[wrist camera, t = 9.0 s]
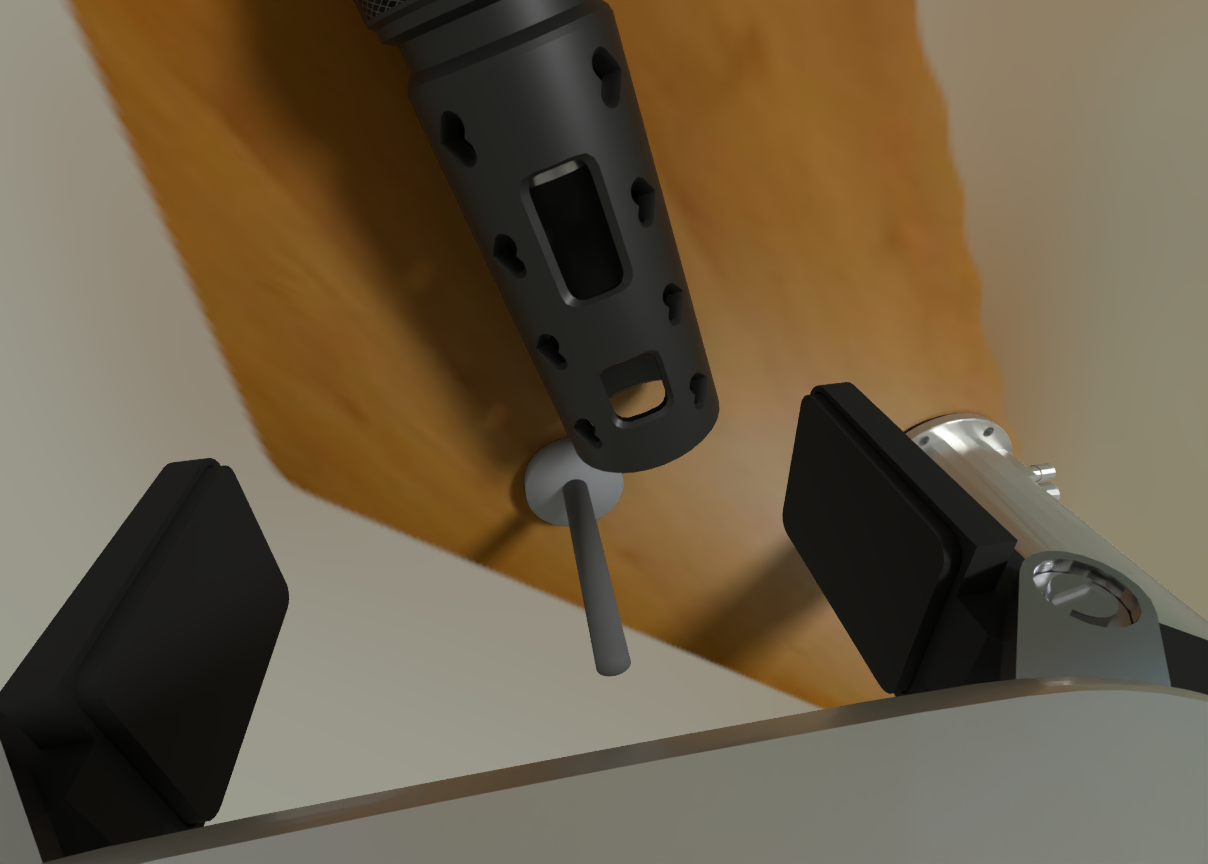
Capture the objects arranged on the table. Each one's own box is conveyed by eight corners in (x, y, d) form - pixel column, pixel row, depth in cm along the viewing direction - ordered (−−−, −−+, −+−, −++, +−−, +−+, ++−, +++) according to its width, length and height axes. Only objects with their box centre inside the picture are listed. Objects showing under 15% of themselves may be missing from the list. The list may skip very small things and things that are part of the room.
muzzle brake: (559, 403, 41) (582, 502, 32) (311, -131, 25) (227, -214, 16) (692, 351, 40) (750, 437, 32) (526, -227, 24) (555, -362, 16)
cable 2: (618, 430, 43) (682, 609, 30) (620, 506, 47) (677, 692, 34) (519, 443, 42) (539, 633, 29) (529, 519, 46) (551, 716, 33)
